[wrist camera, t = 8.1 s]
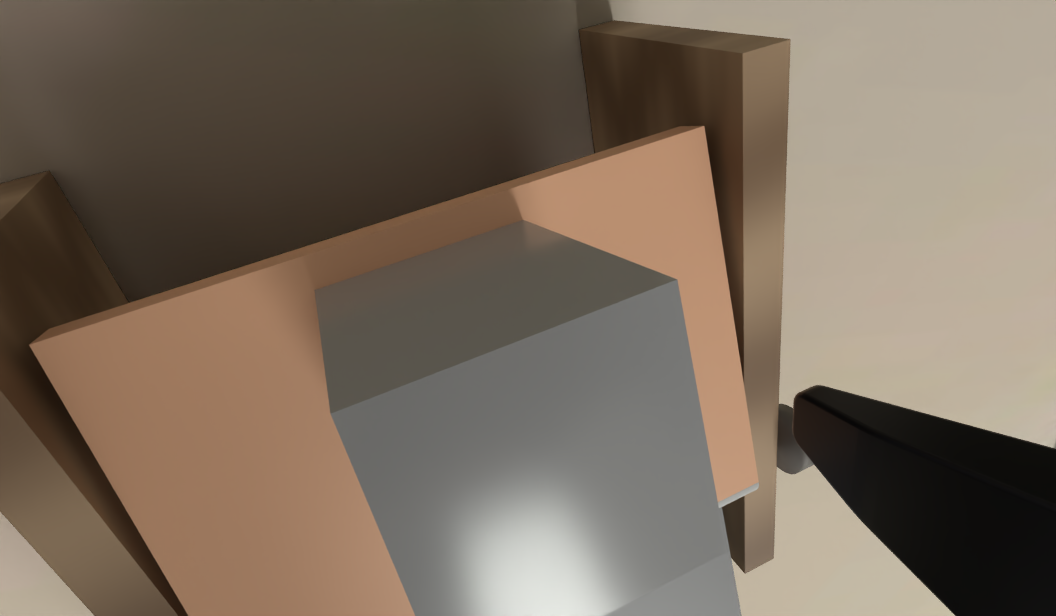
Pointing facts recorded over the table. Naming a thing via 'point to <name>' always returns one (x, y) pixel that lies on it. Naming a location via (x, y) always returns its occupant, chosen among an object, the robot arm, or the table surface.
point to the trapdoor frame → (616, 118)
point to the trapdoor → (302, 398)
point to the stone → (522, 424)
